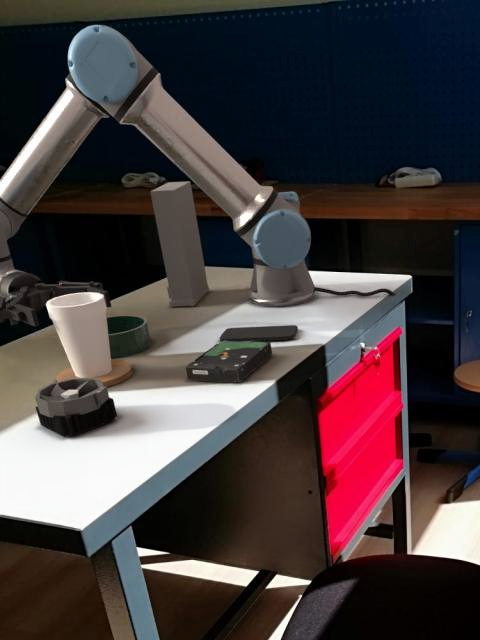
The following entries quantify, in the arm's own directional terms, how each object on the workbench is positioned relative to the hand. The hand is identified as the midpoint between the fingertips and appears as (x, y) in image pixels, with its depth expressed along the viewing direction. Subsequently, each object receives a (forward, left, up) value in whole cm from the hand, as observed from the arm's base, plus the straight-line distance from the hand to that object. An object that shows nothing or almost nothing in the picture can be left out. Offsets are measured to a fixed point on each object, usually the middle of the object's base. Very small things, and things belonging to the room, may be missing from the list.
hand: (72, 308), depth 132 cm
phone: (-24, -24, -12) cm, 36 cm away
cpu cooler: (-11, +20, -12) cm, 26 cm away
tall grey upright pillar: (+4, -50, -12) cm, 51 cm away
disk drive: (-25, -6, -12) cm, 29 cm away
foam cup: (-2, +1, -11) cm, 11 cm away
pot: (+3, -15, -12) cm, 19 cm away
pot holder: (-2, +1, -12) cm, 12 cm away
